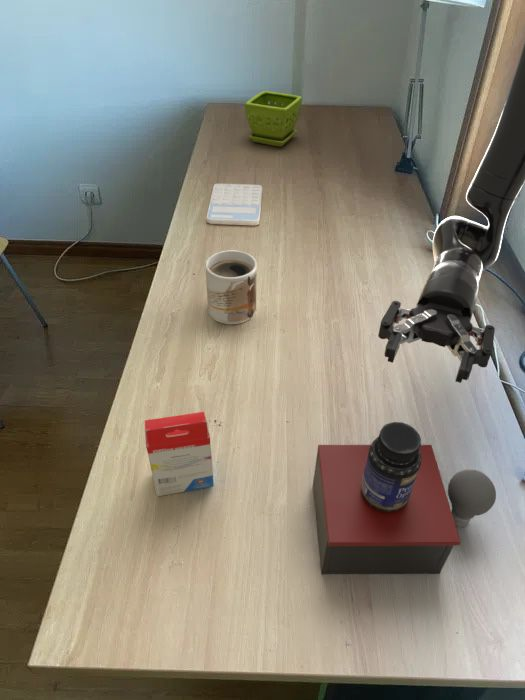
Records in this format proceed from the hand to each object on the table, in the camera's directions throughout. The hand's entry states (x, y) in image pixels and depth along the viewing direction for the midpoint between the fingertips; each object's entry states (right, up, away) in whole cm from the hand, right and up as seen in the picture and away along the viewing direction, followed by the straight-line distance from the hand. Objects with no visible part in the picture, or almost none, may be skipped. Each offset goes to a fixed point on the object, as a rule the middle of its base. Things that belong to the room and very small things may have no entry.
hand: (425, 367), depth 70 cm
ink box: (-32, -17, +14) cm, 39 cm away
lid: (-5, -16, +3) cm, 17 cm away
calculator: (-27, +40, +78) cm, 91 cm away
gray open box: (-5, -23, +9) cm, 25 cm away
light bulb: (+8, -22, +10) cm, 25 cm away
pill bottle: (-5, -16, +2) cm, 17 cm away
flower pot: (-17, +70, +111) cm, 132 cm away
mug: (-26, +11, +46) cm, 53 cm away
